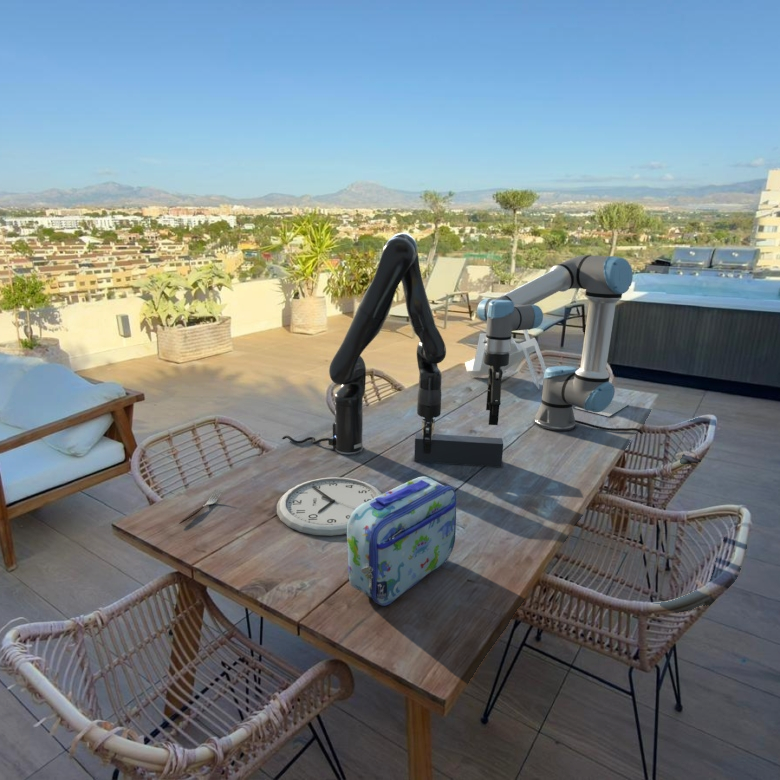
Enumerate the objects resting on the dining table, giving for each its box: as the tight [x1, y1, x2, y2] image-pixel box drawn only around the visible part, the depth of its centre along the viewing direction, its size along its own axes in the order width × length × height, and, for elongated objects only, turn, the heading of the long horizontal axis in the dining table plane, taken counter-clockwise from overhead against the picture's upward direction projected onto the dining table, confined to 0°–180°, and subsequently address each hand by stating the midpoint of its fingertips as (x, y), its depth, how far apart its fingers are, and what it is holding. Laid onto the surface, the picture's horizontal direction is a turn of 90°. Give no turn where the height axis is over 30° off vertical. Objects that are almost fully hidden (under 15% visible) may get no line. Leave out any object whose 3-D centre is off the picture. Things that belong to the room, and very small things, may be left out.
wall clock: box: [276, 476, 384, 537], centre depth 142 cm, size 30×2×30 cm
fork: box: [178, 489, 223, 525], centre depth 139 cm, size 3×16×2 cm, turn 160°
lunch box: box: [346, 475, 457, 607], centre depth 111 cm, size 26×11×21 cm, turn 134°
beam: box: [413, 432, 504, 468], centre depth 170 cm, size 28×5×8 cm, turn 83°
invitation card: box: [573, 400, 629, 418], centre depth 226 cm, size 21×1×15 cm
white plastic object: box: [464, 330, 547, 390], centre depth 260 cm, size 37×45×31 cm
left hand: (427, 449), depth 171 cm, fingers closed on beam, 5 cm apart
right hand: (491, 417), depth 165 cm, fingers open, 13 cm apart
